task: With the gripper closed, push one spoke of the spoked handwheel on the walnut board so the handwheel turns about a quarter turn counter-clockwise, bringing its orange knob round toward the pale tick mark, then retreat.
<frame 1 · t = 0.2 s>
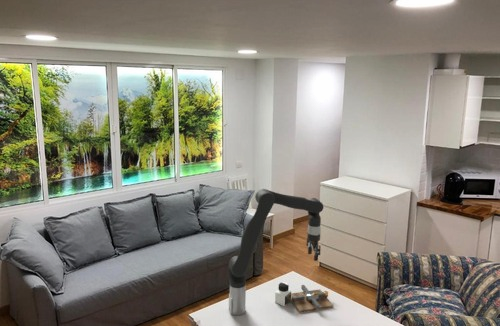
hand: (312, 257, 230), 29 cm above the table, fingers open, 8 cm apart
spoked handwheel: (310, 296, 234), point 4 cm above the table, hinge at 0.0°
stand board: (309, 301, 235), on the table
medicine bottle: (282, 302, 234), on the table
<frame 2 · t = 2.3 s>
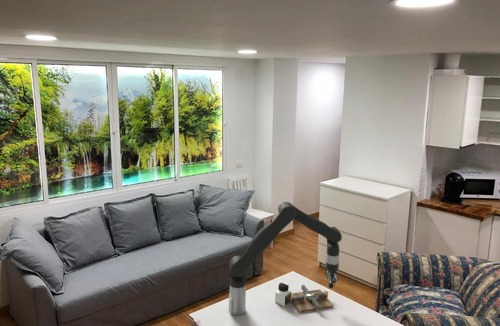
hand: (330, 287, 228), 12 cm above the table, fingers closed
nothing on the table moved.
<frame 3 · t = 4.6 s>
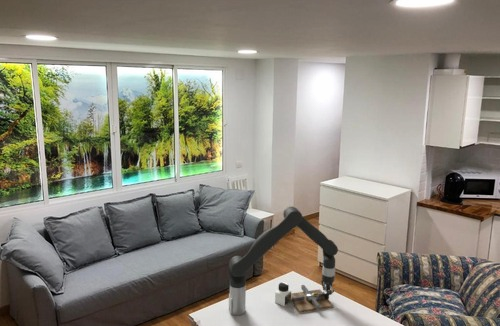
hand: (326, 298, 233), 3 cm above the table, fingers closed
spoked handwheel: (310, 296, 234), point 4 cm above the table, hinge at 0.2°, touching gripper
everything else where it was.
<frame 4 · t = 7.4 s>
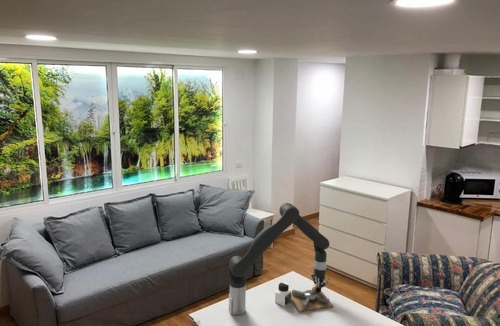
hand: (318, 291, 241), 3 cm above the table, fingers closed
spoked handwheel: (310, 296, 234), point 4 cm above the table, hinge at 49.4°, touching gripper
everything else where it was.
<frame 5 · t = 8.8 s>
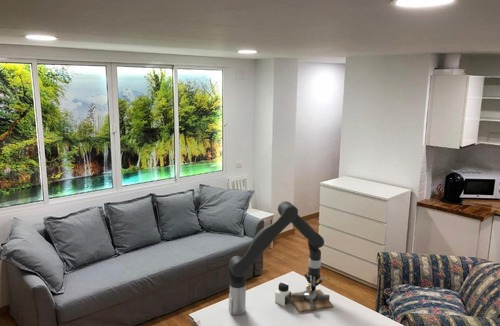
hand: (313, 290, 243), 3 cm above the table, fingers closed
spoked handwheel: (310, 296, 234), point 4 cm above the table, hinge at 71.9°, touching gripper
everything else where it was.
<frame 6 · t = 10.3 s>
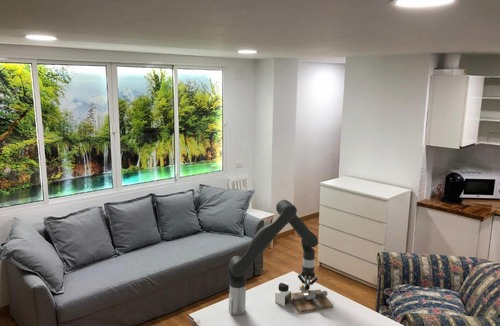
hand: (307, 289, 243), 3 cm above the table, fingers closed
spoked handwheel: (310, 296, 234), point 4 cm above the table, hinge at 95.3°, touching gripper
everything else where it was.
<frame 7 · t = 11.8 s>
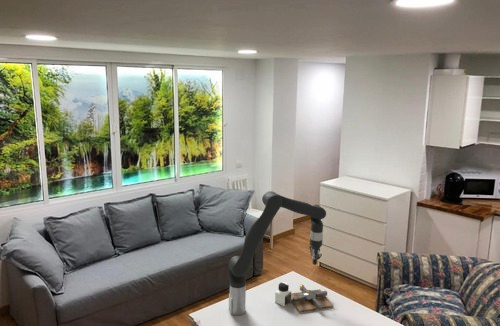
hand: (314, 264, 235), 22 cm above the table, fingers closed
spoked handwheel: (310, 296, 234), point 4 cm above the table, hinge at 95.3°
everything else where it was.
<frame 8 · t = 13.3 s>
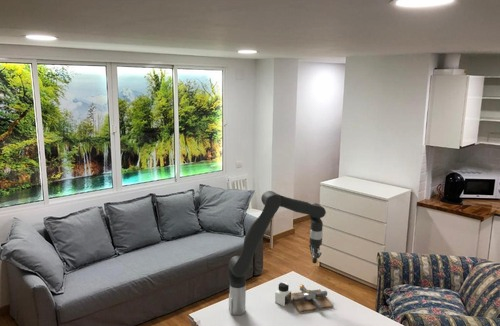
hand: (314, 262, 235), 23 cm above the table, fingers closed
nothing on the table moved.
at the end: spoked handwheel at +95° (first picture: +0°); spoked handwheel touching nothing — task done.
